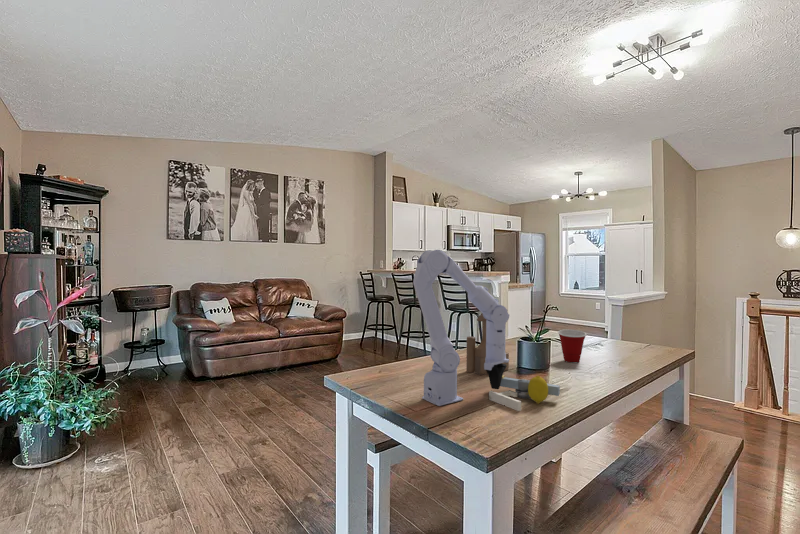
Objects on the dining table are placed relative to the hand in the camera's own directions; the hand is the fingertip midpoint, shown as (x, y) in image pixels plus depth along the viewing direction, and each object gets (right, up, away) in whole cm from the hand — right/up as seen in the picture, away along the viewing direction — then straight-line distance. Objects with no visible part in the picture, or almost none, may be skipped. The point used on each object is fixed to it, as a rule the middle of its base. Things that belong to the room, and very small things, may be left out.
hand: (495, 388), depth 124 cm
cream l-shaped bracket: (+4, -2, -5) cm, 7 cm away
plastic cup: (+41, -2, +42) cm, 58 cm away
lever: (+9, 0, 0) cm, 9 cm away
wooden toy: (+3, -2, +28) cm, 28 cm away
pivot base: (+9, -2, 0) cm, 9 cm away
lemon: (+11, -3, -6) cm, 13 cm away
